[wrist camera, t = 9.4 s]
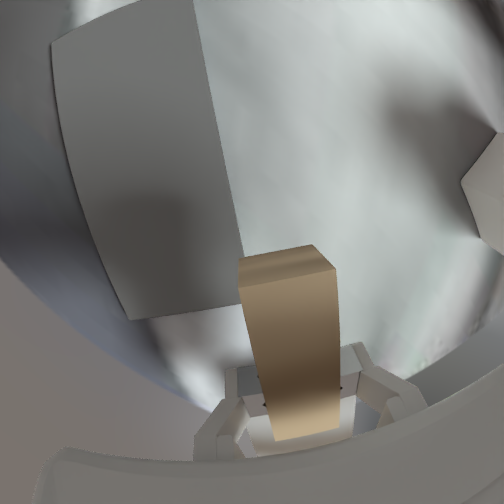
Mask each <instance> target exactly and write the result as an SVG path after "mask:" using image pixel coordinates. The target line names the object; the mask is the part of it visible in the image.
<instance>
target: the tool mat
mask: <svg viewBox="0 0 504 504" xmlns="http://www.w3.org/2000/svg"><path fill="white" fill-rule="evenodd" d="M51 48H52V64H53V76H54V85H55V93H56V100H57V107H58V113H59V118H60V124H61V129H62V134H63V139H64V143H65V148H66V152H67V156H68V160H69V164H70V168H71V172H72V176H73V179H74V183H75V186H76V190H77V193H78V196H79V199H80V203H81V206H82V209H83V212H84V215H85V218H86V221H87V223H88V226H89V229H90V232H91V235H92V237H93V240H94V242H95V245H96V248H97V250H98V253H99V255H100V258H101V260H102V262H103V265H104V267H105V270H106V272H107V274H108V276H109V279H110V281H111V283H112V285H113V288H114V290H115V292H116V294H117V296H118V298H119V300H120V302H121V304H122V306H123V308H124V310H125V312H126V314H127V316H128V318H129V320H137V319H145V318H153V317H160V316H167V315H174V314H181V313H187V312H194V311H200V310H207V309H213V308H219V307H225V306H230V305H236V304H241V300H240V295H239V291H238V262H239V258H243V257H244V253H243V248H242V243H241V238H240V234H239V229H238V224H237V220H236V215H235V210H234V205H233V200H232V196H231V191H230V186H229V181H228V176H227V172H226V167H225V162H224V157H223V152H222V147H221V142H220V137H219V132H218V127H217V122H216V117H215V112H214V108H213V102H212V97H211V92H210V87H209V82H208V77H207V72H206V67H205V62H204V57H203V52H202V46H201V41H200V36H199V31H198V26H197V20H196V15H195V10H194V4H193V0H140V1H137V2H134V3H132V4H129V5H126V6H124V7H121V8H119V9H116V10H114V11H112V12H109V13H107V14H105V15H103V16H100V17H98V18H96V19H94V20H92V21H90V22H88V23H86V24H84V25H82V26H80V27H78V28H76V29H75V30H73V31H71V32H69V33H67V34H66V35H64V36H62V37H60V38H59V39H57V40H55V41H54V42H52V43H51Z"/></svg>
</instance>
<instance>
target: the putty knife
mask: <svg viewBox="0 0 504 504" xmlns="http://www.w3.org/2000/svg"><path fill="white" fill-rule="evenodd" d="M238 291H239V295H240V300H241V304H242V308H243V313H244V317H245V321H246V326H247V330H248V334H249V338H250V343H251V347H252V351H253V355H254V359H255V363H256V368H257V372H258V376H259V380H260V384H261V388H262V392H263V395H264V400H265V404H266V408H267V412H268V415H263V416H258V417H251V418H250V420H249V422H248V424H247V426H246V428H247V430H248V433H249V436H250V439H251V441H252V444H253V446H254V449H255V451H256V454H257V457H260V456H268V455H274V454H281V453H287V452H292V451H297V450H302V449H307V448H312V447H316V446H320V445H325V444H328V443H332V442H336V441H340V440H343V439H347V438H350V437H352V433H353V424H354V414H355V404H356V395H354V396H350V397H346V398H342V399H340V326H339V306H338V290H337V277H336V268H335V267H334V266H333V265H332V264H331V263H330V262H329V261H328V260H327V259H326V258H325V257H324V256H323V255H322V254H321V253H320V252H319V251H318V250H317V249H316V248H315V247H314V246H313V245H312V244H311V245H306V246H301V247H295V248H290V249H285V250H280V251H275V252H269V253H264V254H259V255H254V256H248V257H243V258H239V262H238Z"/></svg>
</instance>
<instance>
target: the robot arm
mask: <svg viewBox="0 0 504 504" xmlns="http://www.w3.org/2000/svg"><path fill="white" fill-rule="evenodd" d="M354 395H356V396H357V397H358V398H360V399H361V400H362V401H364V402H365V403H366V404H368V405H369V406H371V407H372V408H373V409H374V410H376V411H377V412H378V413H380V414H381V417H380V420H379V422H378V424H377V426H376V428H377V429H375V430H372V431H369V432H366V433H363V434H360V435H357V436H353V437H350V438H347V439H343V440H340V441H336V442H332V443H328V444H325V445H320V446H316V447H312V448H307V449H302V450H297V451H292V452H287V453H281V454H274V455H268V456H260V457H252V458H245V456H244V454H243V453H242V451H241V450H240V448H239V446H238V445H237V442H238V440H239V438H240V437H241V435H242V433H243V431H244V429H245V428H246V426H247V424H248V422H249V420H250V418H251V417H258V416H263V415H268V412H267V408H266V404H265V400H264V395H263V392H262V388H261V384H260V380H259V376H258V372H257V368H256V365H255V366H248V367H240V368H232V369H226V371H225V399H222V400H221V401H220V403H219V404H218V406H217V407H216V408H215V410H214V411H213V412H212V414H211V415H210V416H209V418H208V419H207V420H206V422H205V423H204V424H203V426H202V427H201V428H200V429H199V431H198V432H197V433H196V435H195V436H194V452H193V453H194V454H193V461H170V460H152V459H140V458H131V457H122V456H115V455H109V454H103V453H97V452H91V451H87V450H82V449H78V448H73V447H64V448H63V449H61V450H59V451H58V452H56V453H55V454H54V455H53V456H52V457H50V458H49V459H48V460H47V461H46V462H45V463H44V465H43V467H42V469H41V471H40V474H39V477H38V480H37V483H36V487H35V491H34V495H33V499H32V503H31V504H504V363H503V364H501V365H500V366H498V367H497V368H495V369H494V370H493V371H491V372H490V373H488V374H487V375H485V376H484V377H482V378H480V379H479V380H477V381H476V382H474V383H472V384H471V385H469V386H467V387H466V388H464V389H462V390H461V391H459V392H457V393H455V394H453V395H452V396H450V397H448V398H446V399H444V400H442V401H440V402H438V403H436V404H434V405H432V406H430V407H428V406H427V404H426V402H425V400H424V398H423V396H422V395H421V393H420V391H419V389H418V387H416V386H414V385H413V384H411V383H409V382H407V381H405V380H403V379H401V378H399V377H397V376H396V375H394V374H392V373H390V372H388V371H386V370H384V369H383V368H381V367H379V366H376V367H375V366H374V364H373V362H372V360H371V358H370V356H369V354H368V352H367V350H366V348H365V347H364V345H363V343H362V342H357V343H353V344H349V345H346V346H342V347H340V399H342V398H346V397H350V396H354Z"/></svg>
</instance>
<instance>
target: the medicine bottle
mask: <svg viewBox="0 0 504 504" xmlns="http://www.w3.org/2000/svg"><path fill="white" fill-rule="evenodd" d="M461 186H462V188H463V190H464V193H465V195H466V198H467V200H468V203H469V205H470V208H471V210H472V213H473V216H474V219H475V222H476V224H477V227H478V230H479V234H480V237H481V239H482V241H484V242H485V243H487V244H488V245H489V246H491V247H492V248H494V249H495V250H497V251H498V252H499V253H501V254H502V255H503V256H504V133H500V132H499V133H497V134H496V135H495V137H494V138H493V139H492V141H491V142H490V144H489V145H488V146H487V148H486V149H485V150H484V152H483V153H482V154H481V156H480V157H479V158H478V160H477V161H476V162H475V163H474V165H473V166H472V167H471V168H470V170H469V171H468V172H467V173H466V175H465V176H464V177H463V178H462V180H461Z"/></svg>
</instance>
